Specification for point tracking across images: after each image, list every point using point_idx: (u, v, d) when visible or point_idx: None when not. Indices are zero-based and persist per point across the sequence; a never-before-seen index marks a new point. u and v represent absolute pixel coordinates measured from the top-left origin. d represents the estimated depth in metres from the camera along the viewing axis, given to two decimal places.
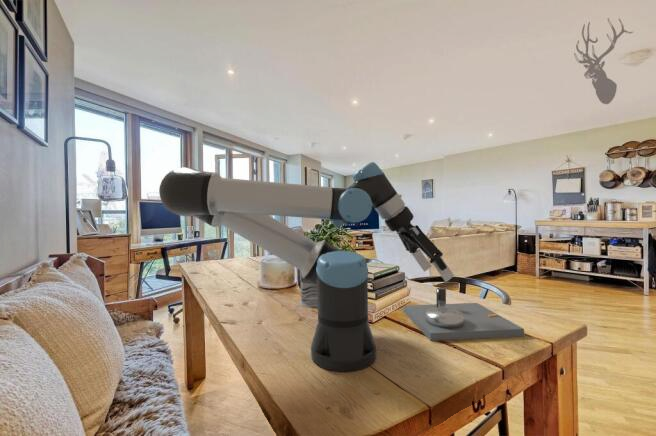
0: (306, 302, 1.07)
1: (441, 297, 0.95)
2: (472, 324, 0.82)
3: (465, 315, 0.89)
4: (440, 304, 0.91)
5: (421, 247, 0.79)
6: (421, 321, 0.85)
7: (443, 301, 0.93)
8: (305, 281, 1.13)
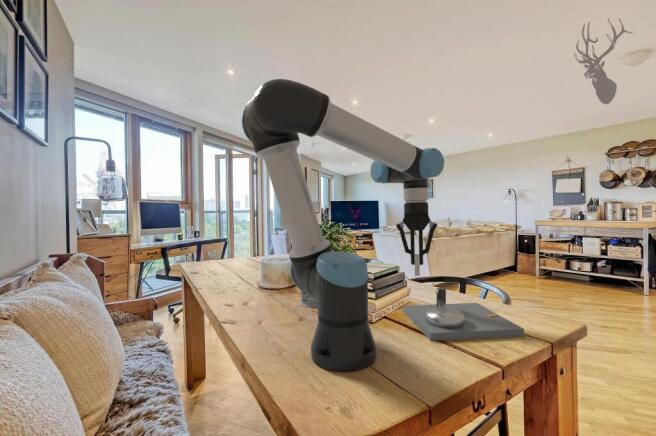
0: (306, 302, 1.07)
1: (441, 297, 0.95)
2: (472, 324, 0.82)
3: (465, 315, 0.89)
4: (440, 304, 0.91)
5: (422, 240, 0.96)
6: (421, 321, 0.85)
7: (443, 301, 0.93)
8: None
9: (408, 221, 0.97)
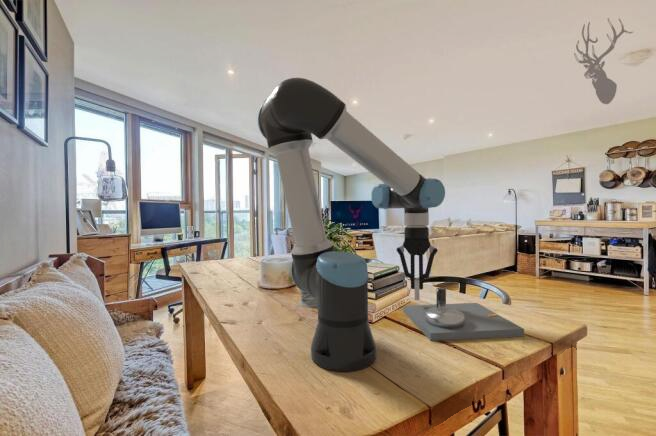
0: (306, 302, 1.07)
1: (441, 297, 0.95)
2: (472, 324, 0.82)
3: (465, 315, 0.89)
4: (440, 304, 0.91)
5: (422, 265, 0.96)
6: (421, 321, 0.85)
7: (443, 301, 0.93)
8: None
9: (408, 245, 0.97)
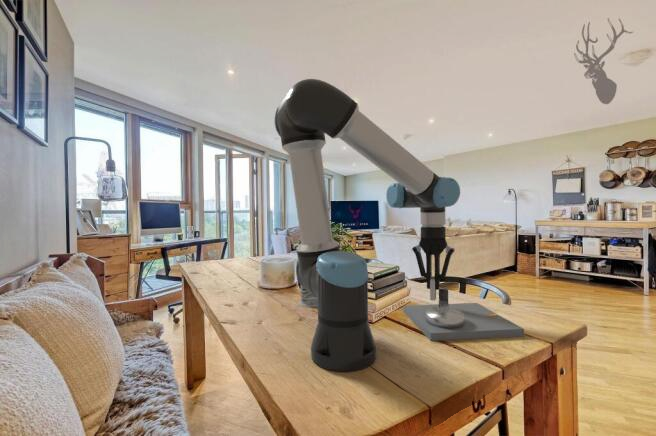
0: (306, 302, 1.07)
1: (443, 297, 0.94)
2: (472, 324, 0.82)
3: (465, 315, 0.89)
4: (441, 304, 0.91)
5: (438, 265, 0.95)
6: (421, 321, 0.85)
7: (445, 301, 0.93)
8: None
9: (424, 245, 0.97)
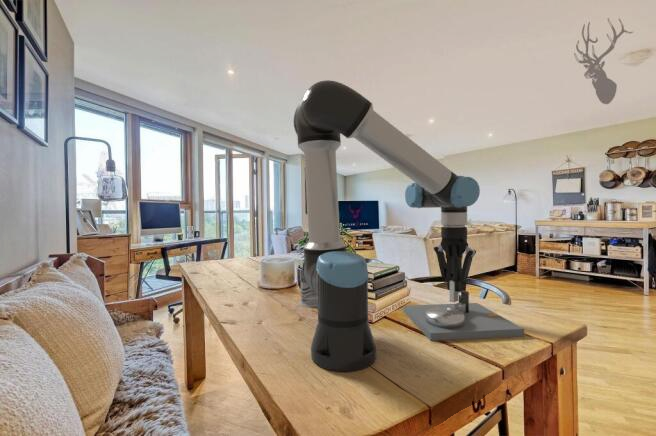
0: (306, 302, 1.07)
1: (461, 300, 0.92)
2: (472, 324, 0.82)
3: (465, 315, 0.89)
4: (452, 305, 0.89)
5: (458, 266, 0.93)
6: (421, 321, 0.85)
7: (461, 304, 0.90)
8: None
9: (444, 245, 0.96)
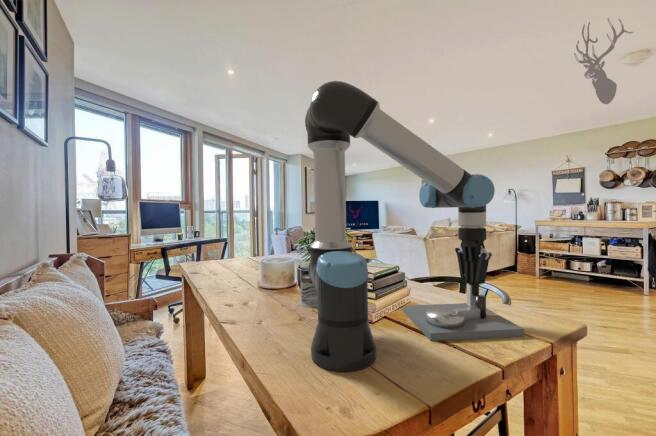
0: (306, 302, 1.07)
1: (476, 304, 0.87)
2: (472, 324, 0.82)
3: None
4: (462, 308, 0.87)
5: (473, 269, 0.89)
6: (421, 321, 0.85)
7: (474, 308, 0.86)
8: (305, 281, 1.13)
9: None
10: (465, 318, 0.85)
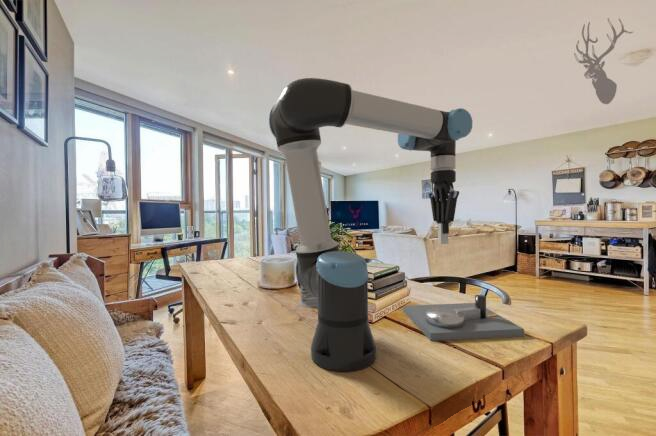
0: (306, 302, 1.07)
1: (476, 304, 0.87)
2: (472, 324, 0.82)
3: None
4: (462, 308, 0.87)
5: (444, 208, 0.96)
6: (421, 321, 0.85)
7: (474, 308, 0.86)
8: None
9: None
10: (465, 318, 0.85)
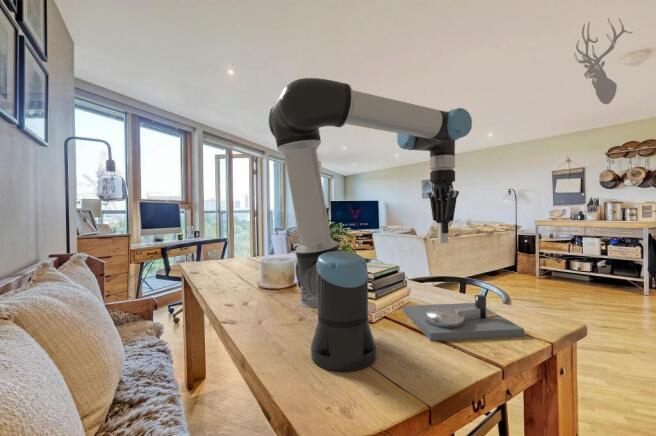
0: (306, 302, 1.07)
1: (476, 304, 0.87)
2: (472, 324, 0.82)
3: None
4: (462, 308, 0.87)
5: (443, 208, 0.96)
6: (421, 321, 0.85)
7: (474, 308, 0.86)
8: None
9: None
10: (465, 318, 0.85)
